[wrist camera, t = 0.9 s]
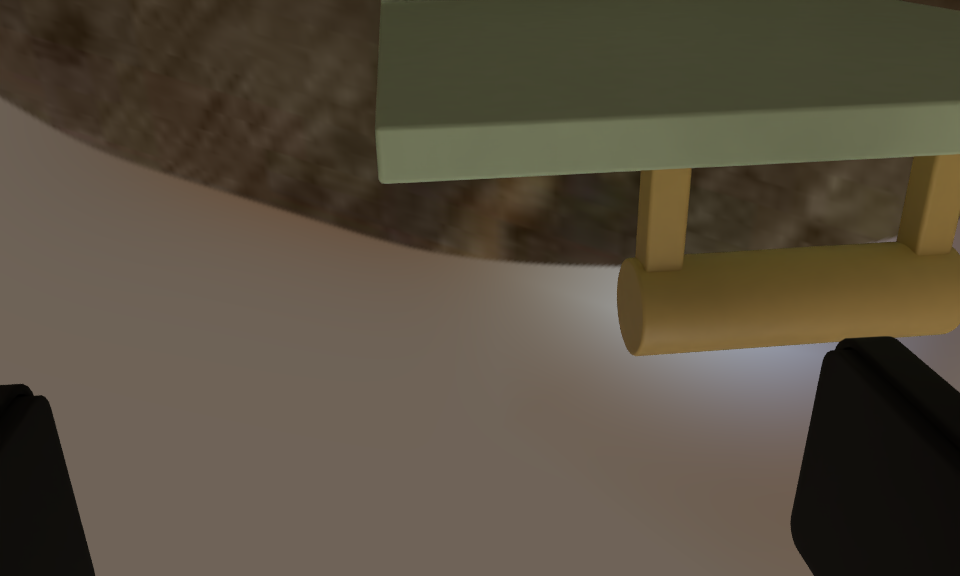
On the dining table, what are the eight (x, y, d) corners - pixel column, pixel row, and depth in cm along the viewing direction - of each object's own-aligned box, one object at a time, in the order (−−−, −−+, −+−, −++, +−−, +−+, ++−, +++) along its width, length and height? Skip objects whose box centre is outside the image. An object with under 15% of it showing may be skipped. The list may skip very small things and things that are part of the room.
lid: (374, 127, 11) (398, 443, 13) (1376, 81, 12) (1249, 376, 14) (380, 2, 26) (391, 158, 28) (829, -12, 27) (806, 138, 29)
